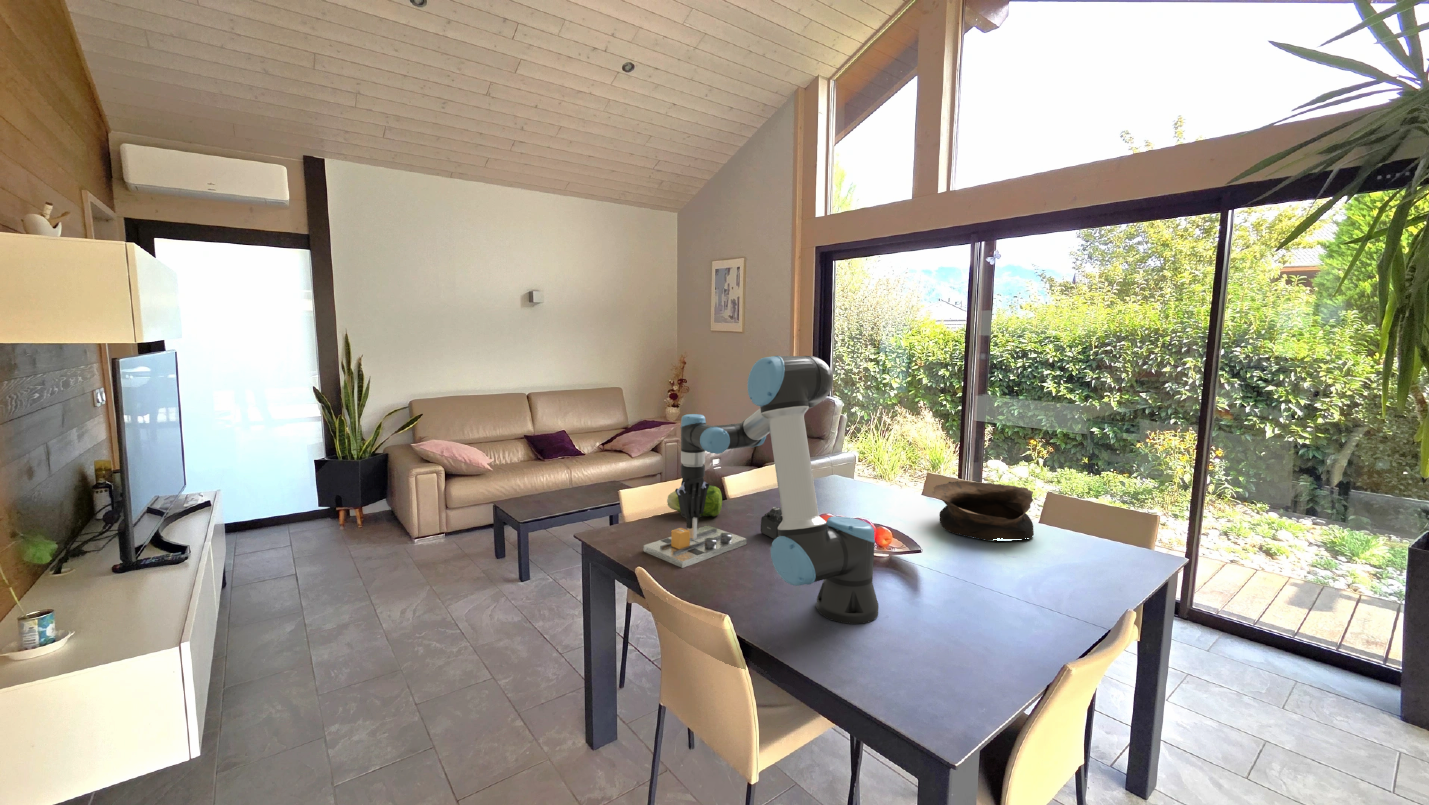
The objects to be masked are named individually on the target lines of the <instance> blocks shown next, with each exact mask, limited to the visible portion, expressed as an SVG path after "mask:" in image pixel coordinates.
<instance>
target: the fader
mask: <svg viewBox="0 0 1429 805" xmlns="http://www.w3.org/2000/svg"><path fill="white" fill-rule="evenodd" d="M670 537H671V546H672V547H675V548H678V549H681V548H684V547H687V546H690V531H689V530H688V529H686V528H684V527H678V528H675V529H672V530H671V535H670Z"/></svg>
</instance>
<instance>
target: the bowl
mask: <svg viewBox="0 0 1429 805" xmlns="http://www.w3.org/2000/svg"><path fill="white" fill-rule="evenodd" d="M1033 494H1034V491H1032V490H1030V489H1028V488H1027V487H1022V486H1021V487H1019V486H1016V485H1009V484H1007V485H1006V484H1005V485H1004V484H1001V483H997V484H996V483H992V482H988V483H987V482H985V483H984V482H980V481H979V482H976V481H973V482H971V481H965V480H964V481H961V480H960V481H958V480H957V481H948V482H947V483H942V484H938V485H937V484H936V485H935V486H934V487H933V491H932V492H931V495H932V496H935V497H936V498H937V499H939V500H941V501H942V502H943V503H944V504H945V506H944V507H943V508H942V509H941V510H940V512H939V513H938V514H939V523H940V525H941V527H942V528H943V530H945V531H947V532H949V533H951V532H952V533H951V534H954V533H955V535H959V534H960V536H963V535H965V537H968V536H969V538H972V537H974V538H973V539H976V538H979V539H978V540H981V539H985V540H984V541H988V540H993V539H997V538H1000V539H1001V538H1003V539H1025V538H1026V539H1027V538H1030V539H1032V538H1033V537H1032V536H1034V534H1035V533H1034V532H1035V531H1034V530H1035V529H1034V523H1033V521H1032V519H1031V518H1030V516H1029V515H1028V514H1027V513H1028V511H1029V510H1030V509H1031V504H1032V503H1033V501H1034V499H1033ZM1031 537H1032V538H1031ZM995 541H997V540H994V541H993V542H995Z"/></svg>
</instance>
